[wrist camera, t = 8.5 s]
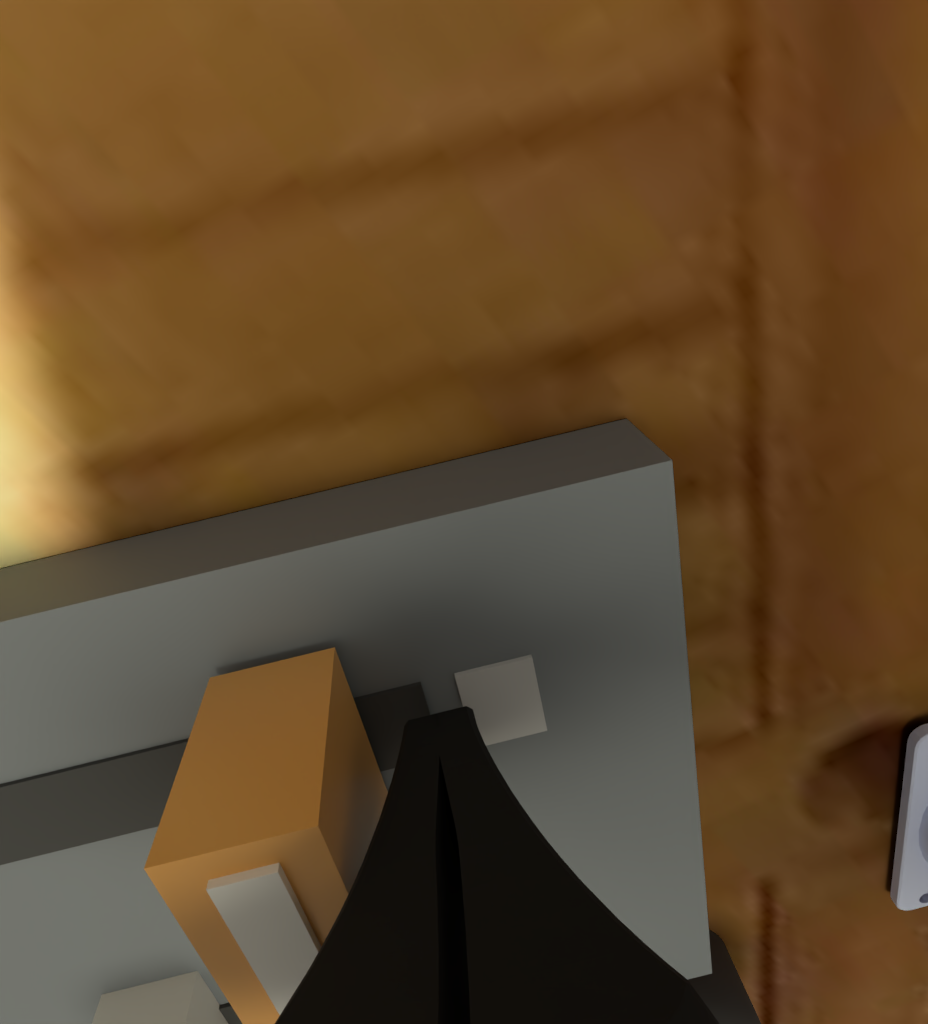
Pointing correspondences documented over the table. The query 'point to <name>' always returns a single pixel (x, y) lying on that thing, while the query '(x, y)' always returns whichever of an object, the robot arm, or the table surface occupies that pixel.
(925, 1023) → the table surface
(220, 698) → the breaker paddle
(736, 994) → the dark grey cylinder
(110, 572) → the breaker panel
